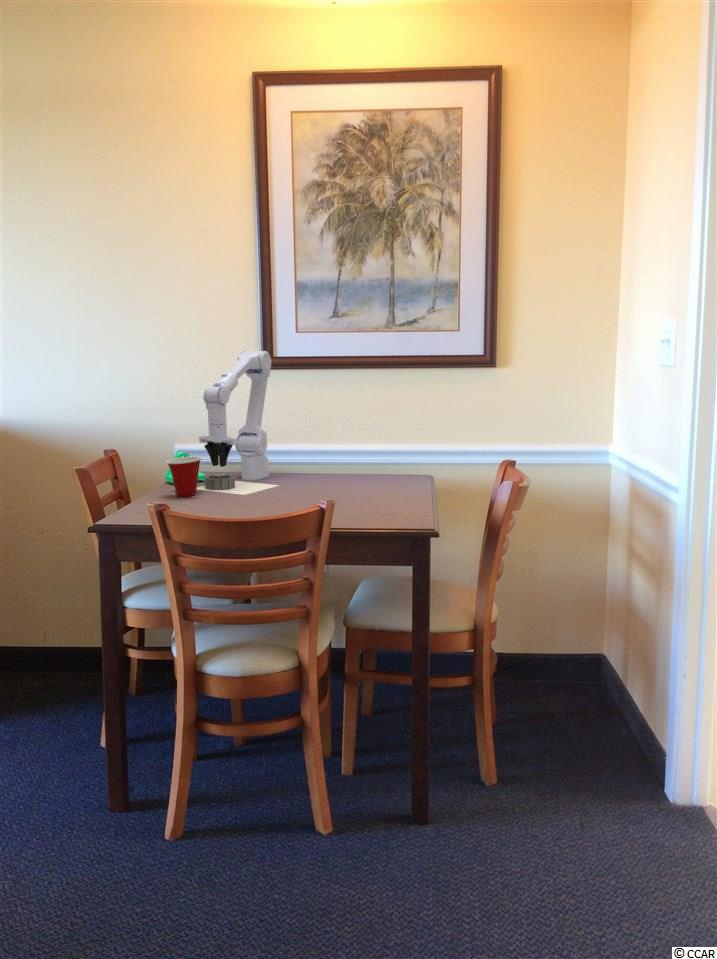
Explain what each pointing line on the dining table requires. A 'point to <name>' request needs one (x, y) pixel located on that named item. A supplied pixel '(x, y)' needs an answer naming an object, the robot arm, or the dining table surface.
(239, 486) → the board
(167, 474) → the camera mount
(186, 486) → the plastic cup
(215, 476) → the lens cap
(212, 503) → the dining table surface
